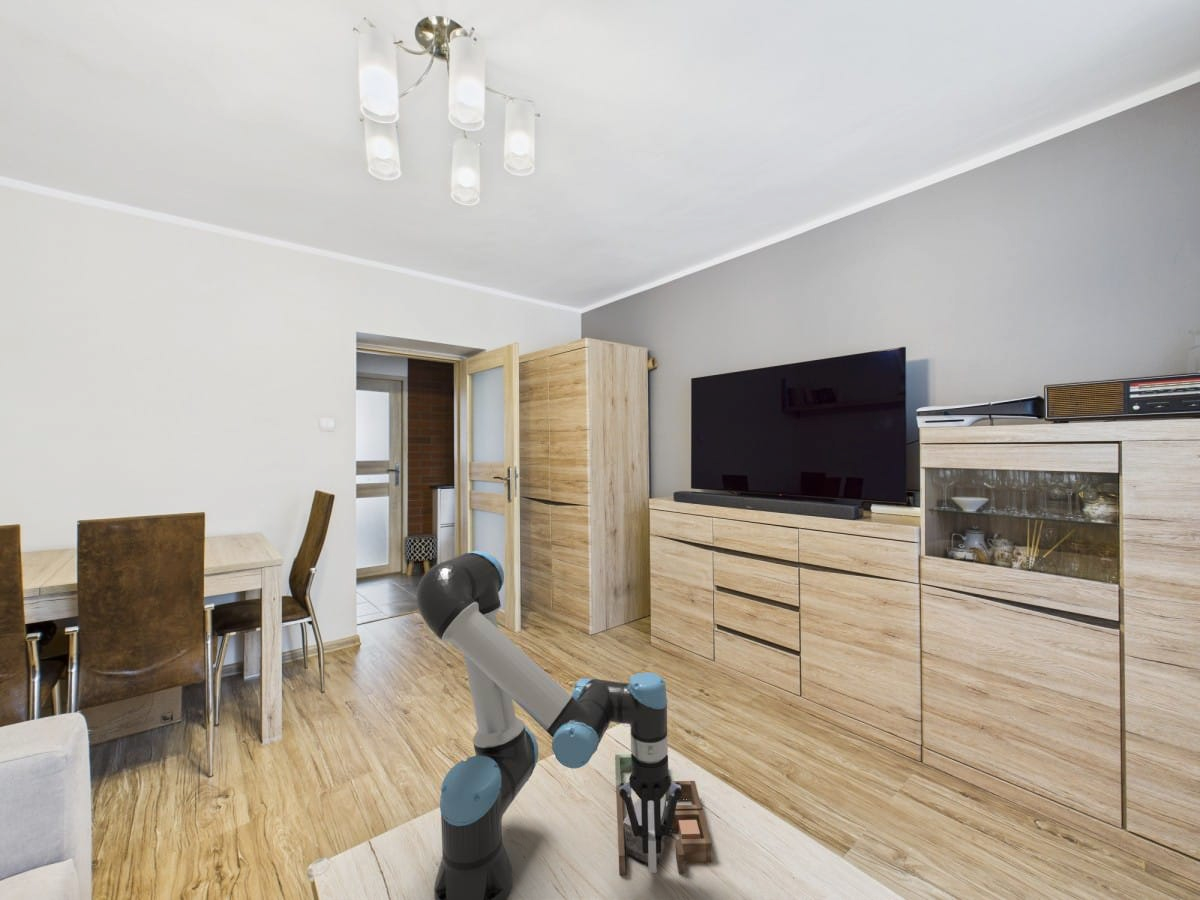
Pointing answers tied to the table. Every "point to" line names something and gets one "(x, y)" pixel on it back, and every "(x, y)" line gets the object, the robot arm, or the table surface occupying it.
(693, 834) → the cube
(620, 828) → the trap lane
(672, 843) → the table surface
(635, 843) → the decorative stone
